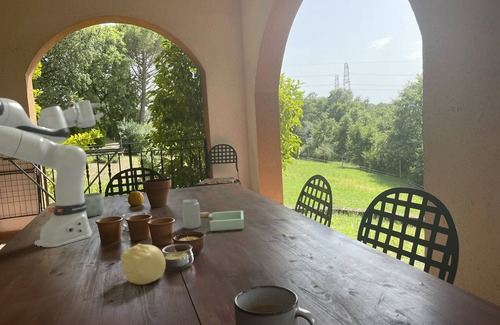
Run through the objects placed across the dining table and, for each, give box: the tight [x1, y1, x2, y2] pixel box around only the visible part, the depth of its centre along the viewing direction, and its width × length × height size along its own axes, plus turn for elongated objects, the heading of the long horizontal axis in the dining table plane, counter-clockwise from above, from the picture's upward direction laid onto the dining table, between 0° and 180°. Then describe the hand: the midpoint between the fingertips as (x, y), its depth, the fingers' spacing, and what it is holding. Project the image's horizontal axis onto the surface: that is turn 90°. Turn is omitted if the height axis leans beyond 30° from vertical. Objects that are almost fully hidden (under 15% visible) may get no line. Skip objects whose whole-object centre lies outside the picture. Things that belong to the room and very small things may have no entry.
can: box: [181, 198, 201, 230], centre depth 170 cm, size 8×8×12 cm
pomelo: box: [120, 243, 167, 286], centre depth 114 cm, size 12×12×11 cm
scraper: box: [200, 211, 213, 219], centre depth 189 cm, size 15×7×2 cm, turn 90°
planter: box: [84, 192, 105, 218], centre depth 207 cm, size 12×12×11 cm
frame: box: [209, 210, 245, 232], centre depth 170 cm, size 14×16×4 cm
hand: (101, 109), depth 201 cm, fingers open, 8 cm apart
